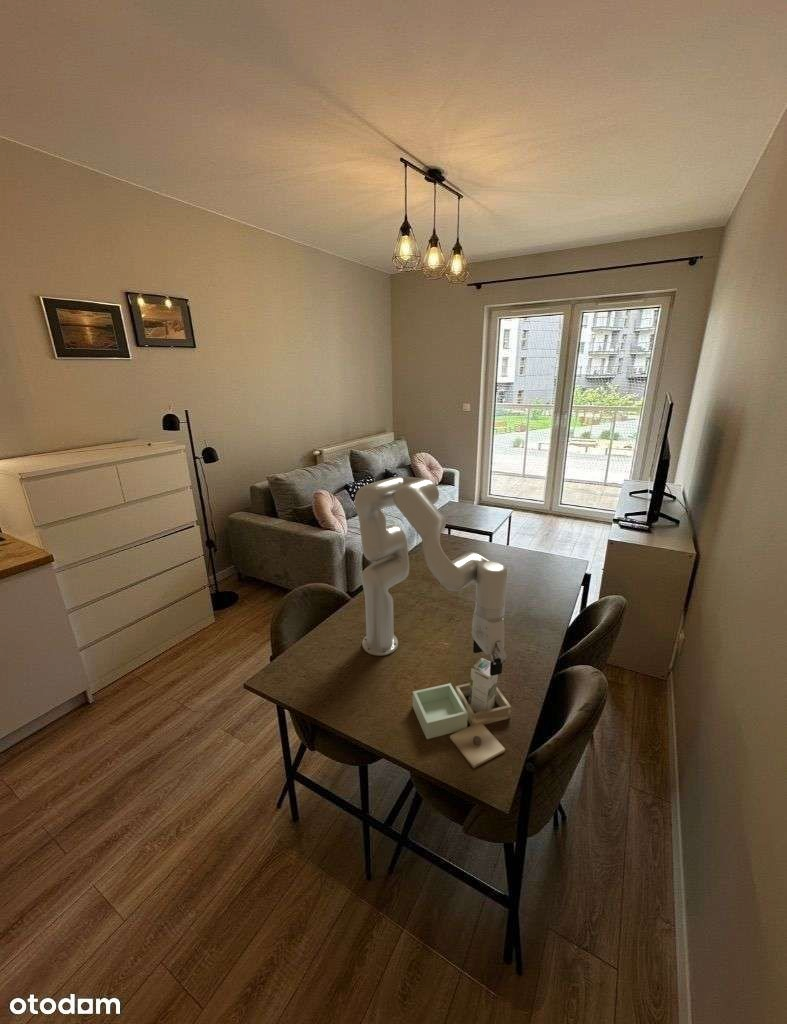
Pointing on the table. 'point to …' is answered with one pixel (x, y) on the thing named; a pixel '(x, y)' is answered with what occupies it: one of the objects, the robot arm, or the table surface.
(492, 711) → the frame
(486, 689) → the syrup box
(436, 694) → the bin
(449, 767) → the table surface
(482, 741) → the lid
